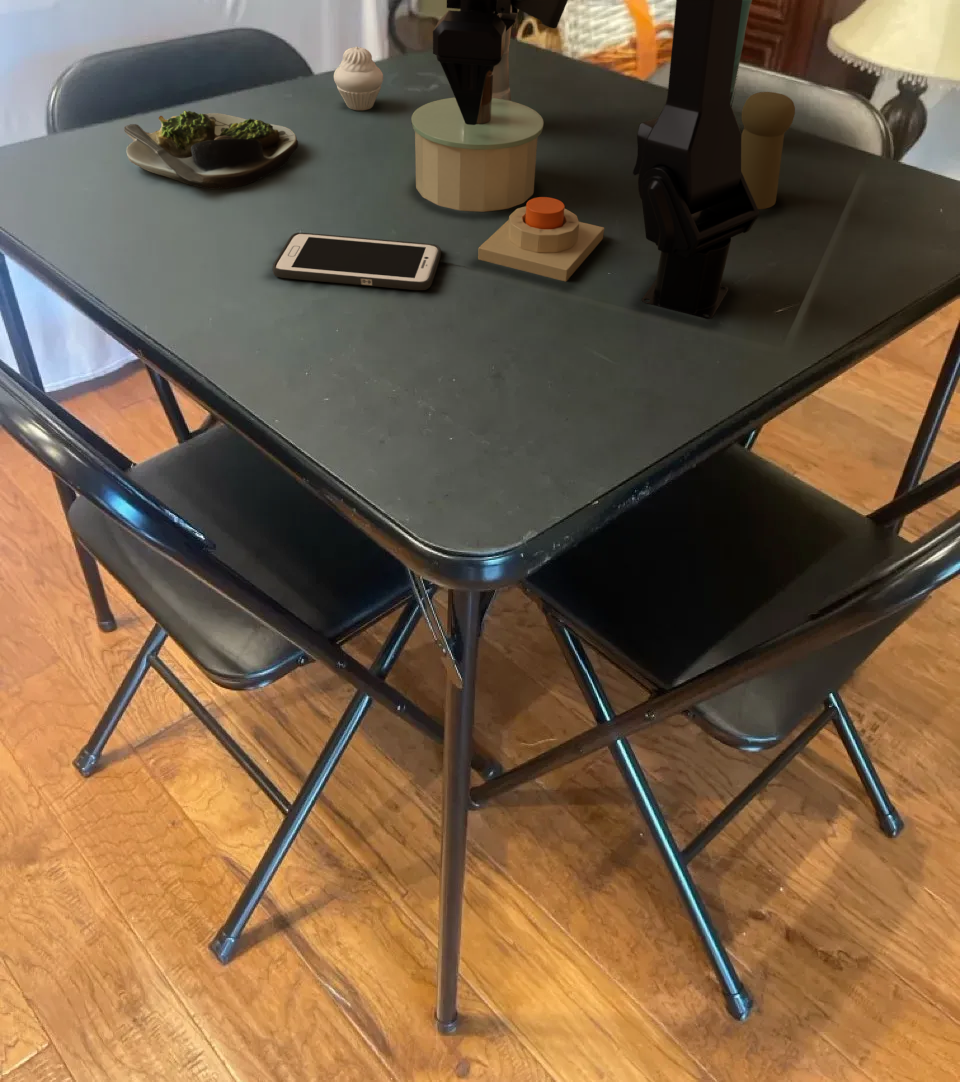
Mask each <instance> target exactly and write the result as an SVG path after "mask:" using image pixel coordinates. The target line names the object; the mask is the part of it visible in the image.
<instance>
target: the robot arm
mask: <svg viewBox="0 0 960 1082" xmlns="http://www.w3.org/2000/svg"><path fill="white" fill-rule="evenodd" d="M568 1H569V0H446V9H453V10H448V11H446V12H445V14H444V15H443V16H442V17H441V18H440V19H439V20H438V21H437V23H436V25H435V27H434V29H432V54H433V55H435V56H436V60H437V61H438V62H439V63H440V66H441V69H442V70H443V72H444V74H445V77H446V79H447V81H448V84H449V86H450V88H451V92H452V94H453V96H454V98H455V99H456V101H457V104H458V106H459V109H460V111H461V114H462V116H463V119H464V121H465V123H466V124H467V125H476V124H477V120H478V115H479V110H480V105H481V100H482V96H483V91H484V86H485V81H486V76H487V72H488V71H492V72H493V69H494V66H496V65H498V64H499V63H500V61H501V59H502V56H503V54H504V46H505V37H506V31H507V30H508V29H509V28H510V27H511V26H512V27H513V25H514V24H515V23H516V21H517V18H518V13H519V11H521V12H523V13H525V14H527V15H528V16H530V17H533V18H535V19H536V20H538V21H540V22H541V24H542V25H544V26H545V27H547V28H551V29H557V27H558V25H559V23H560V21H561V18H562V16H563V13H564V11H565V9H566V6H567V4H568ZM742 1H743V0H675V10H674V19H673V20H674V22H673V30H672V31H673V32H672V43H671V55H670V66H669V74H668V86H667V96H666V101H665V103H664V106H663V108H662V110H661V111H660V113H659V115H658V117H656V118H653V119H650V120H647V121H644V122H641V123H640V124H639V126H638V129H637V134H636V142H637V143H636V144H637V145H636V146H637V155H636V161H635V165H634V168H633V170H632V175H633V176H637V175H638V177H637V185H638V186H637V188H638V194H639V198H640V200H641V205H642V213H643V223H644V231H645V238H646V240H648V241H650V242H652V243H653V244H655V245H656V246H657V250H658V251H660V254H659V255H660V256H659V261H658V267H657V271H656V277H655V279H654V281H653V283H652V284H651V285H650V287H649V288H648V289H647V291H646V293H645V294H644V295H643V297H642V298H641V302H642V303H644V304H646V305H649V306H650V305H651V306H655V307H659V308H662V309H666V310H670V311H674V312H677V313H682V314H686V315H689V316H693V317H696V318H697V317H698V318H701V319H706V320H711V319H713V318H714V316H715V314H716V312H717V310H718V308H719V307H720V305H721V303H722V302H723V300H724V298H725V297H726V295H727V293H728V291H729V287H727V286H726V285H722V280H723V276H724V271H725V268H726V263H727V259H728V255H729V250H730V246H731V242H732V238H734V237H736V236H738V235H740V234H745V233H748V232H749V231H750V230H751V229H752V227H753V226H754V224H755V222H756V221H757V220H758V218H759V216H760V209H758V208H757V206H756V203H755V201H754V199H753V196H752V194H751V192H750V190H749V187H748V185H747V183H746V181H745V178H744V176H743V174H742V172H741V135H742V132H741V129H740V126H739V124H738V121H737V118H736V115H735V112H734V110H733V106H732V107H731V104H732V103H731V104H730V91H731V84H732V76H733V69H734V61H735V54H736V46H737V38H738V31H739V23H740V16H741V8H742ZM511 6H512V12H511ZM454 9H456V10H454ZM512 27H511V28H512ZM722 288H723V289H722ZM646 300H648V301H646ZM706 315H707V316H706Z"/></svg>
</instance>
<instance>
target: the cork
mask: <svg viewBox="0 0 960 1082" xmlns="http://www.w3.org/2000/svg"><path fill="white" fill-rule="evenodd" d="M795 114H796V107H795V103H794V101H793V100H792V98H790V97H789V96H788V95H786V94H783V93H778V92H775V91H773V92H772V91H759V92H755V93H752V94H751V95H750V96H748V98H747V99H746V100H745V102H744V103H743V106H742V110H741V123H742V125H743V130H742V132H741V172H742V174H743V176H744V178H745V181H746V183H747V185H748V187H749V190H750V192H751V194H752V196H753V199H754V201H755V203H756V206H757V208H758V210H766V209H769V208H772V207H773V206H774V205H775V204H776V201H777V196H778V195H777V194H778V188H779V181H780V180H779V179H780V171H781V165H782V164H781V163H782V154H783V146H784V139H785V133H786V132H787V131H788V130H789V129H790V127H791V126H792V124H793V121H794V119H795Z"/></svg>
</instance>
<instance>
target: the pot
mask: <svg viewBox="0 0 960 1082" xmlns="http://www.w3.org/2000/svg"><path fill="white" fill-rule="evenodd" d="M414 144H415V145H414V146H415V147H414V148H415V154H414V155H415V188H416V190H417V191H418V193H419V194H420V196H421V197H422V198H424V199H426V200H427V201H429V202H431V203H433V204H434V205H437V206H439V207H442V208H443V207H444V208H448V209H452V210H455V211H461V212H462V211H464V212H481V213H483V212H492V211H493V212H494V211H501V210H508V209H510V208H513V207H516V206H519V205H522V204H524V203H525V202H526V201H528V199H530V198H531V197H532V196H533V195H534V192H535V177H536V163H537V151H538V150H537V148H538V137H537V138H535V139H534V140H532V141H530V142H528V143H525V144H522V145H518V146H514V147H509V148H502V149H487V150H479V149H464V148H456V147H451V146H446V145H442V144H438V143H435V142H432V141H430V140H428V139H425V138H424V137H422V136H420V135H419V134H418V133H416V132H415V131H414Z"/></svg>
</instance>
